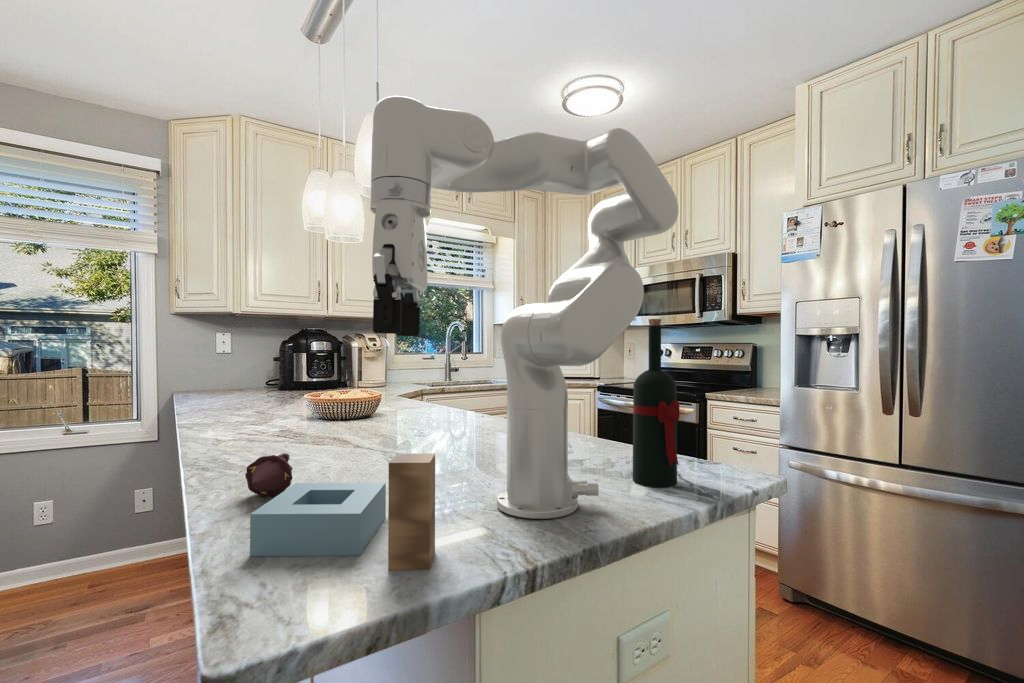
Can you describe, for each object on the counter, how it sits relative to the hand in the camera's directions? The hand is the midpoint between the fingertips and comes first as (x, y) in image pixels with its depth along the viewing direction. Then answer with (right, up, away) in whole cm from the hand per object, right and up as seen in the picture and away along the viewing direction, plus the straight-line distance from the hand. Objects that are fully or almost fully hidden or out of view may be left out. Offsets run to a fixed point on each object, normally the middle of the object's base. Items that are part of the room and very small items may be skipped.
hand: (397, 334), depth 62 cm
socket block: (-10, -26, +2) cm, 29 cm away
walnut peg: (+3, -27, -5) cm, 27 cm away
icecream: (-26, -27, +19) cm, 42 cm away
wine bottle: (+41, -27, +27) cm, 56 cm away
